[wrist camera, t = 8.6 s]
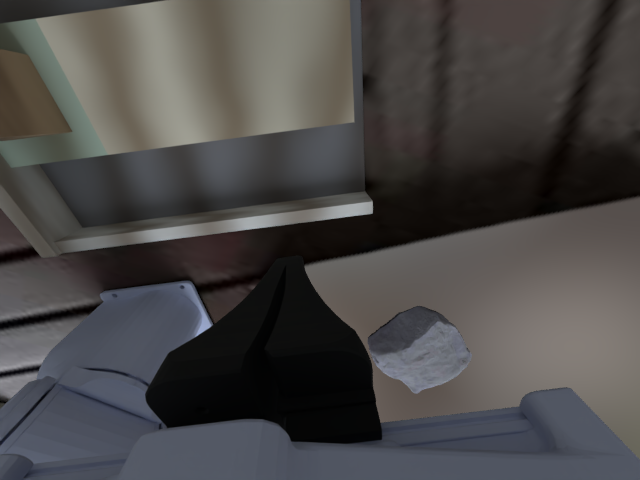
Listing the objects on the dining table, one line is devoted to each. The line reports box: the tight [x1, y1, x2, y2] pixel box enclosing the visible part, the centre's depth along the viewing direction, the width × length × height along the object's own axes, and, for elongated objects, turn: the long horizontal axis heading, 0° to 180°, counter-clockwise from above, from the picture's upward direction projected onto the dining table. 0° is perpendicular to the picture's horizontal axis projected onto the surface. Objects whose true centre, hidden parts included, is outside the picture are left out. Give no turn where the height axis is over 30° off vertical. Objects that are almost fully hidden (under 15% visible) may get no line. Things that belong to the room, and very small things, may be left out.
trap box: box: [0, 0, 373, 258], centre depth 14 cm, size 26×20×3 cm
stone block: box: [368, 306, 472, 393], centre depth 29 cm, size 12×5×10 cm
